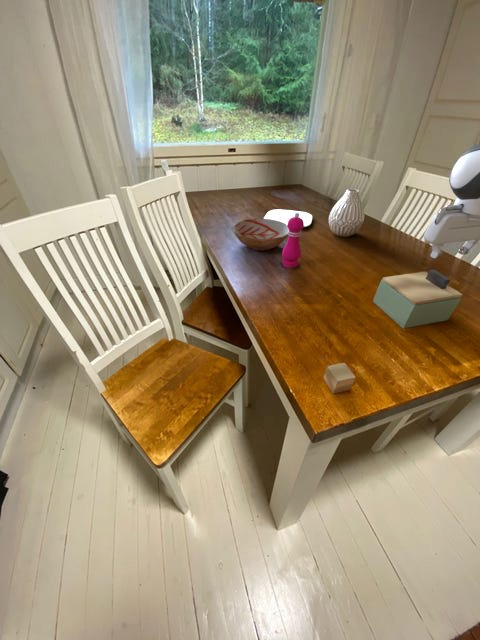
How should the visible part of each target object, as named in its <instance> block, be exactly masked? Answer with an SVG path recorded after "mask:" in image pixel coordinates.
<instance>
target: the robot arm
mask: <svg viewBox="0 0 480 640" xmlns="http://www.w3.org/2000/svg"><path fill="white" fill-rule="evenodd" d="M448 177H449V178H448V183H449V187H450V189H451V191H452V193H453V194H454V195H455V197H456V198H455V200H454V203H453V204H447V205H445V206H444V207H443V208H441V209H440V210H438V212H437V213H436V215H434V217H432V220H431V221H430V223H429V225H428V227H427V228H426V230H425V232H424V234H423V241H425V242H426V243H428V244H430V245H431V248H432V251H431V253H430V257H431V258H432V259H439V258H441V257H442V254H443V251H442V250H441V248H443V247H444V245H445V244H452V243H460V242H461V243H462V242H465V243H464V245H462V246H460V247H459V249H458V250H457V253H458V254H460V255H462V256H463V255H468V254H469V252H470V250H471V249H473V248H474V247H475V246H476V245H477V244H478V243H479V241H480V142H479V143H477V144H475V145H473V146H472V147H470V148H469V149H468V150H467V151H465V152H464V153H463V154H462V155H461V156H460V157H459V158H458V159H457V160H456V162H455V163H454V165H453V166H452V167H451V171H450V173H449V176H448Z"/></svg>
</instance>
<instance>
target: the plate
mask: <svg viewBox="0 0 480 640" xmlns="http://www.w3.org/2000/svg"><path fill="white" fill-rule="evenodd" d="M295 213H299V217H300V218H302V219H303V221H304V227H303V228H307V227H309V226H310V225H311V224H312V221H313V215H312V214H310V213H309V212H306V211H298V210H291V209H272V210H269V211H268V212H267V213H266V214H265V216H264V217H263V218H264V219H272V220H277V221H280V222H283V223H285V224H287V223H288V220H289V219H290V218H292V217H294V214H295Z"/></svg>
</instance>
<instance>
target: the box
mask: <svg viewBox="0 0 480 640" xmlns="http://www.w3.org/2000/svg"><path fill="white" fill-rule="evenodd" d="M373 297H374V298H373V300H372V302H373V303H374V305H376V306H377V307H378V308H379V309H380V310H381V311H383V312H384V313H385V314H386V315H387V316H388V317H389V318H390V319H392V320H393V321H394V322H395V323H396V324H397V325H398V326H400V328H402V329H407V328H413V327H419V326H424V325H428V324H429V325H430V324H434V323H439V322H445V321H448V320H449V319H450V317H451V316H452V314H453V312H454V311H455V309H456V308H457V306H458V305H459V303H460V301H461V300H462V296H461V297H457V298H451V299H445V300H439V301H433V302H427V303H421V304H414V303H412V302H411V301H410V300H408V299H407V298H406V297H404V296H403V295H402V294H401V293H399V292H398V291H397V290H395V289H394V288H393V287H391V286H390V285H389V284H387V283H386V282H385V281H384V280H382V279H381V280H380V282H379V285H378V287H377V290H376V292H375V295H374V296H373Z"/></svg>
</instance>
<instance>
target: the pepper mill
mask: <svg viewBox="0 0 480 640" xmlns="http://www.w3.org/2000/svg"><path fill="white" fill-rule="evenodd" d="M287 227H288V229H289V230H288V233H287V234H288V236H287V237H288V238H287V241H286V244H285V245H284V247H283V249H282V252H281V255H282V257H283V258H282V263H281V264H282V265H283V266H284V267H286V268H296V267H298V266H299V261H300V260H299V259H300V258H301V256H302V249H301V246H300V245H301V244H300V237H301V236H302V230H303V229H304V228H305V227H304V221H303V219H302V218H300V217H299V213H295V214H294V217H292V218H290V219H289V220H288V223H287Z"/></svg>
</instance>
